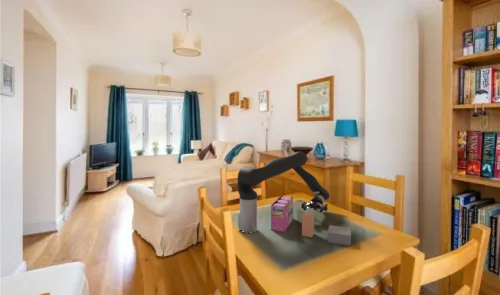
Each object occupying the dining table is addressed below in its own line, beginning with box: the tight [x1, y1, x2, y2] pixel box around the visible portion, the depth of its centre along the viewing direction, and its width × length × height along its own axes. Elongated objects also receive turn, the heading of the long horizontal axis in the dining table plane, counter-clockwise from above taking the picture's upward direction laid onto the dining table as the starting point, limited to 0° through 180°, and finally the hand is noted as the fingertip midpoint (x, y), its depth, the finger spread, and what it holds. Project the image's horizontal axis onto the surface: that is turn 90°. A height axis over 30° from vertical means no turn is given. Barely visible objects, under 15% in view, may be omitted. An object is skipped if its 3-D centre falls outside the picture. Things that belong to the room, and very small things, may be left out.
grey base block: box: [327, 224, 352, 246], centre depth 118 cm, size 10×10×5 cm
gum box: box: [270, 195, 294, 233], centre depth 141 cm, size 24×8×14 cm, turn 159°
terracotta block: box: [301, 212, 315, 238], centre depth 124 cm, size 5×5×10 cm
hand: (312, 209), depth 135 cm, fingers open, 8 cm apart
